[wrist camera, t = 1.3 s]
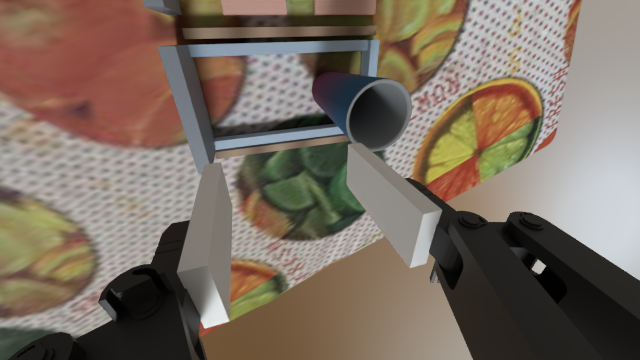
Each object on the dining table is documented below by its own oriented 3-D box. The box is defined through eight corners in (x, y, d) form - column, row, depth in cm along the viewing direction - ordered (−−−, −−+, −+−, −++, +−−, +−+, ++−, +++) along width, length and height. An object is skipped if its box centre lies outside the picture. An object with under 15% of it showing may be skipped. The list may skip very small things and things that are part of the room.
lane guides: (217, 154, 34) (216, 158, 33) (128, -182, 19) (120, -198, 18) (362, 135, 40) (367, 138, 39) (382, -138, 25) (391, -149, 23)
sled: (205, 147, 33) (198, 173, 27) (176, 45, 27) (157, 46, 20) (363, 127, 39) (389, 145, 32) (370, 39, 33) (404, 39, 26)
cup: (334, 53, 32) (395, 61, 20) (358, 93, 36) (421, 121, 24) (296, 86, 33) (332, 113, 21) (323, 122, 37) (367, 164, 24)
